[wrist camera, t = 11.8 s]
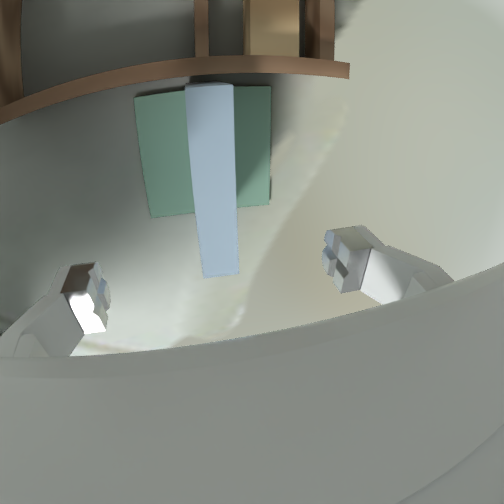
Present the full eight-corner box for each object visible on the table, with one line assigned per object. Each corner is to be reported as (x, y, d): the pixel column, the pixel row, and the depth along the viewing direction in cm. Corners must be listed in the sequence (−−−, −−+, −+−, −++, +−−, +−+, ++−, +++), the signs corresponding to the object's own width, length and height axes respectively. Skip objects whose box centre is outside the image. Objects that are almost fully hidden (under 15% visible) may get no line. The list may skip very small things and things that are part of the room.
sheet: (223, 215, 22) (239, 273, 16) (196, 218, 22) (203, 278, 16) (216, 80, 16) (233, 84, 11) (185, 83, 16) (184, 88, 10)
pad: (267, 202, 23) (269, 204, 22) (151, 215, 21) (151, 218, 21) (269, 86, 17) (271, 86, 17) (134, 97, 16) (133, 98, 16)
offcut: (285, 59, 17) (298, 58, 15) (242, 58, 16) (250, 56, 14) (285, -14, 13) (298, -24, 11) (242, -18, 13) (249, -29, 11)
